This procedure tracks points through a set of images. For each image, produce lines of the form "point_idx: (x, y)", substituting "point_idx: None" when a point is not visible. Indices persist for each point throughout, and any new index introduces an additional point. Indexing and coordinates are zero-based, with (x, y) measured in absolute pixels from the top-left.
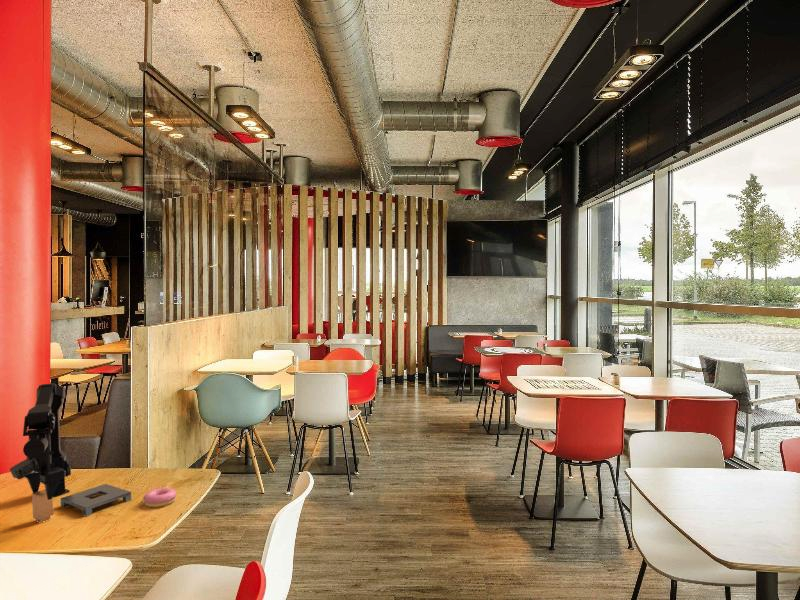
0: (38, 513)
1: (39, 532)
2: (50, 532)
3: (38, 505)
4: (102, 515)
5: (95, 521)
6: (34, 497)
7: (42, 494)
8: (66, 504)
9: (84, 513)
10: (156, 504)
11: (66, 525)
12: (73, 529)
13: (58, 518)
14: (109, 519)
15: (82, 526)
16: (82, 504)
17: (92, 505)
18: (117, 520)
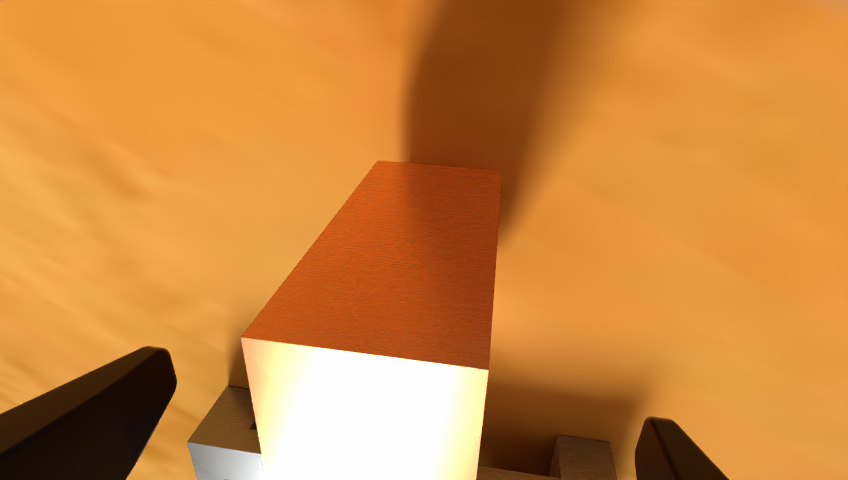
0: (357, 189)
1: (176, 36)
2: (100, 90)
3: (322, 240)
4: (159, 424)
5: (85, 354)
6: (399, 310)
7: (260, 402)
8: (554, 469)
9: (239, 402)
10: None
11: (161, 237)
12: (37, 213)
13: None
14: None
15: (53, 272)
16: None
17: (200, 478)
18: (8, 403)
